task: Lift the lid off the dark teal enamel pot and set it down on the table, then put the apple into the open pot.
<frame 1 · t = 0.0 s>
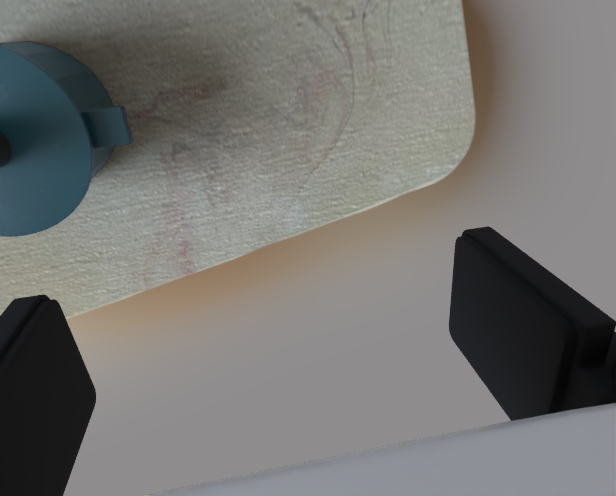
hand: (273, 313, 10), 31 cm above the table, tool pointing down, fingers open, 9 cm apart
pot: (44, 117, 36), on the table
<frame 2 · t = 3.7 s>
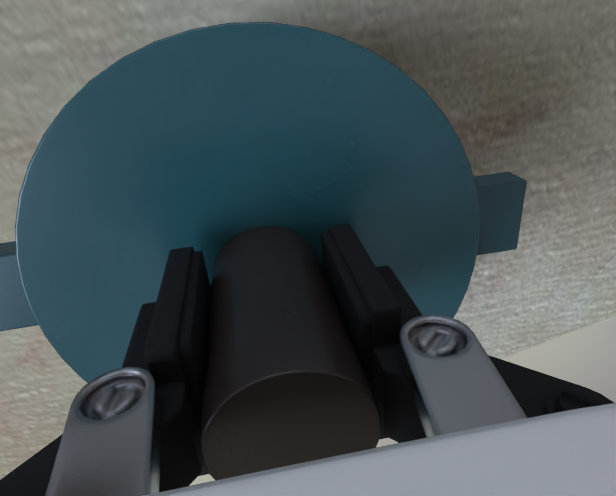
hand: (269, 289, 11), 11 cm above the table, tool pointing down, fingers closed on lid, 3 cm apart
pot: (250, 171, 21), on the table
lid: (266, 266, 12), point 10 cm above the table, touching gripper, pot
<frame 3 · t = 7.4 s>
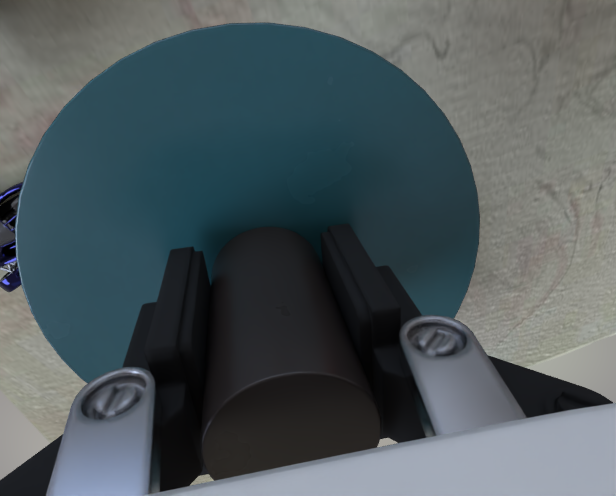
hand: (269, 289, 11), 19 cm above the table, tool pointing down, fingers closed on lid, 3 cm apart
lid: (266, 267, 12), point 18 cm above the table, touching gripper
toy car: (37, 201, 28), on the table
when the fingers open (2 cm above the table, at t = 11.4 s): lid stays where it is, point 1 cm above the table.
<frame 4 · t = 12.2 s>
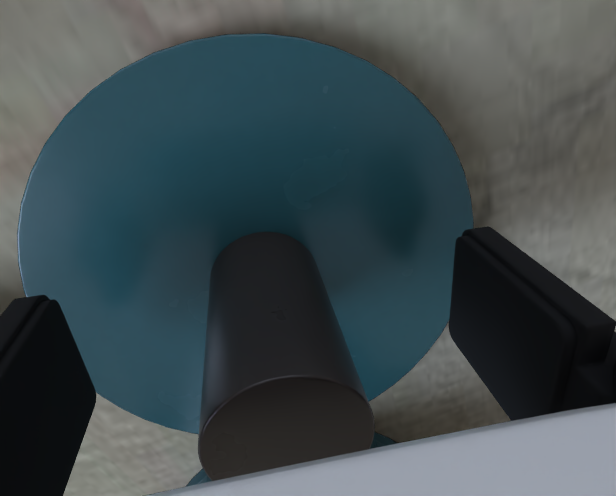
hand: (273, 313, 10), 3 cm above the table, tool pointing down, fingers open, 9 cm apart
lid: (263, 271, 13), point 1 cm above the table
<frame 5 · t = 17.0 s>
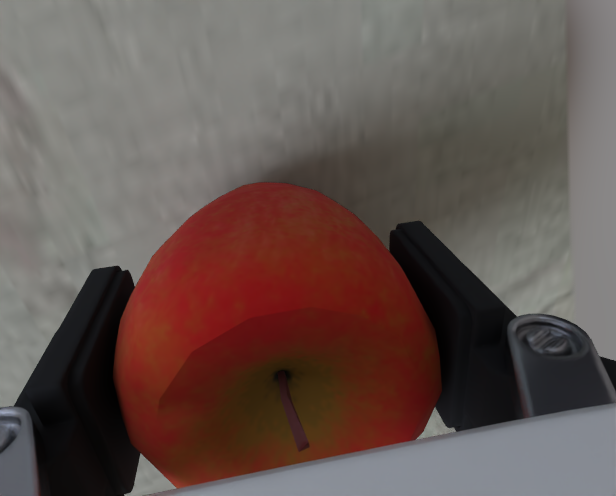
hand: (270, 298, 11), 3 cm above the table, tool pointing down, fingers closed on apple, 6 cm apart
apple: (261, 241, 14), on the table, touching gripper
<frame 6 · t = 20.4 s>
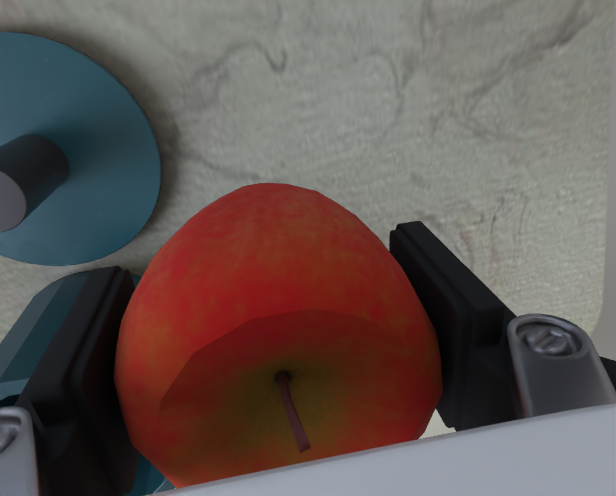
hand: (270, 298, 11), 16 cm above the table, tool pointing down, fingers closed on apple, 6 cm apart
pot: (112, 341, 30), on the table
lid: (41, 160, 23), point 1 cm above the table
apple: (262, 242, 14), point 13 cm above the table, touching gripper
when the fingers open (11 cm above the table, at t = 23.9 s): apple drops 8 cm, resting on pot.
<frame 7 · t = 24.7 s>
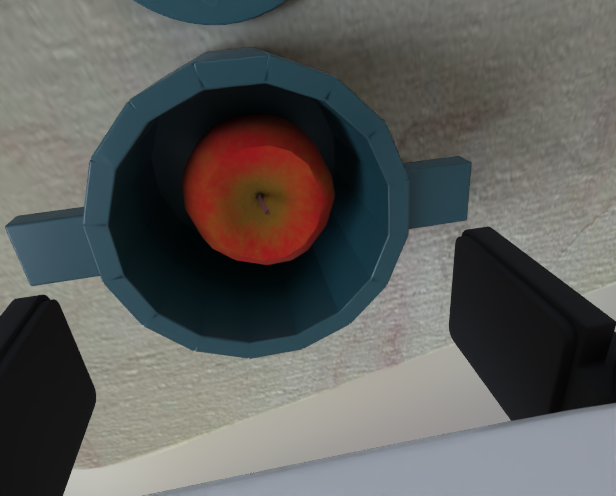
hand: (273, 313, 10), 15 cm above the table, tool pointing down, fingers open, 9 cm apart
pot: (246, 161, 24), on the table
apple: (252, 158, 23), resting on pot
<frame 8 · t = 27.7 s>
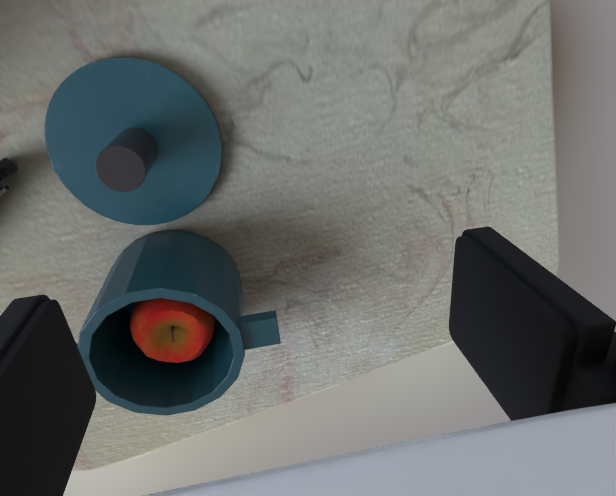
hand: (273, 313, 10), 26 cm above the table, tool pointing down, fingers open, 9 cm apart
pot: (177, 286, 39), on the table
lid: (138, 146, 33), point 1 cm above the table
apple: (180, 286, 39), resting on pot
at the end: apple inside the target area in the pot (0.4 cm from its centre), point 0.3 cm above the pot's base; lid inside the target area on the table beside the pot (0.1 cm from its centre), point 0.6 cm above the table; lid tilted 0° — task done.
